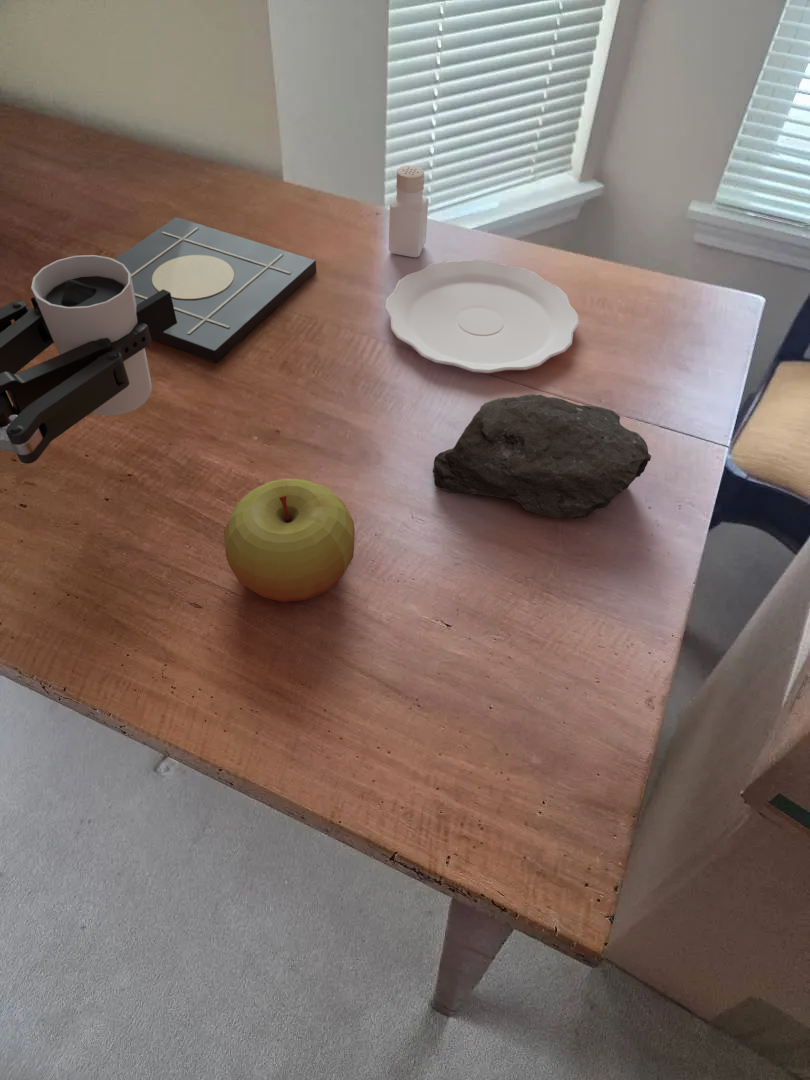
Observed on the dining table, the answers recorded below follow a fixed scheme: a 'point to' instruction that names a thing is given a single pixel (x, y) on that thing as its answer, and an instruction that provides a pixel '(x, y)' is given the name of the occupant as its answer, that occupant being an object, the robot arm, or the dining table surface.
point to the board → (212, 283)
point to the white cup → (93, 316)
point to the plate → (481, 316)
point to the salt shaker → (408, 213)
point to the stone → (544, 455)
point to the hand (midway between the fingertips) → (148, 296)
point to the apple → (289, 539)
